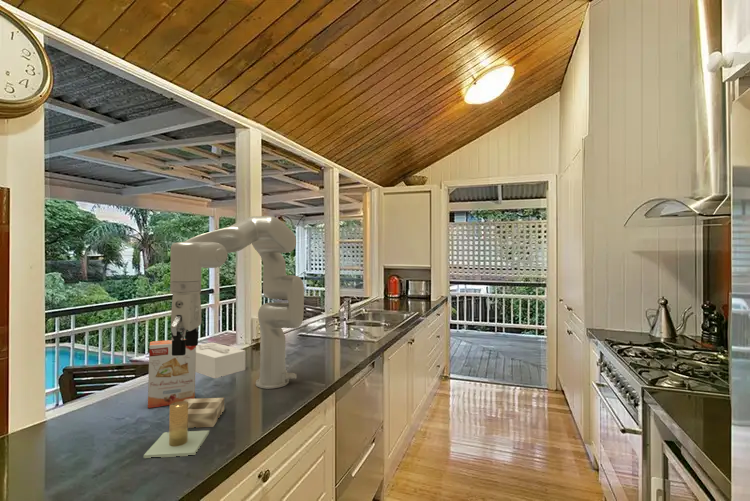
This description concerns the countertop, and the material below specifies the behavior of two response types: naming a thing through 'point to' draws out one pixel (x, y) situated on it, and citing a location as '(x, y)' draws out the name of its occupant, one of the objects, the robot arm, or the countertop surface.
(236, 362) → the tissue box
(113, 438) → the countertop surface
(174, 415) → the brass plug
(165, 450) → the green mat
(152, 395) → the cracker box
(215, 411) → the bored block
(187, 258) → the robot arm
